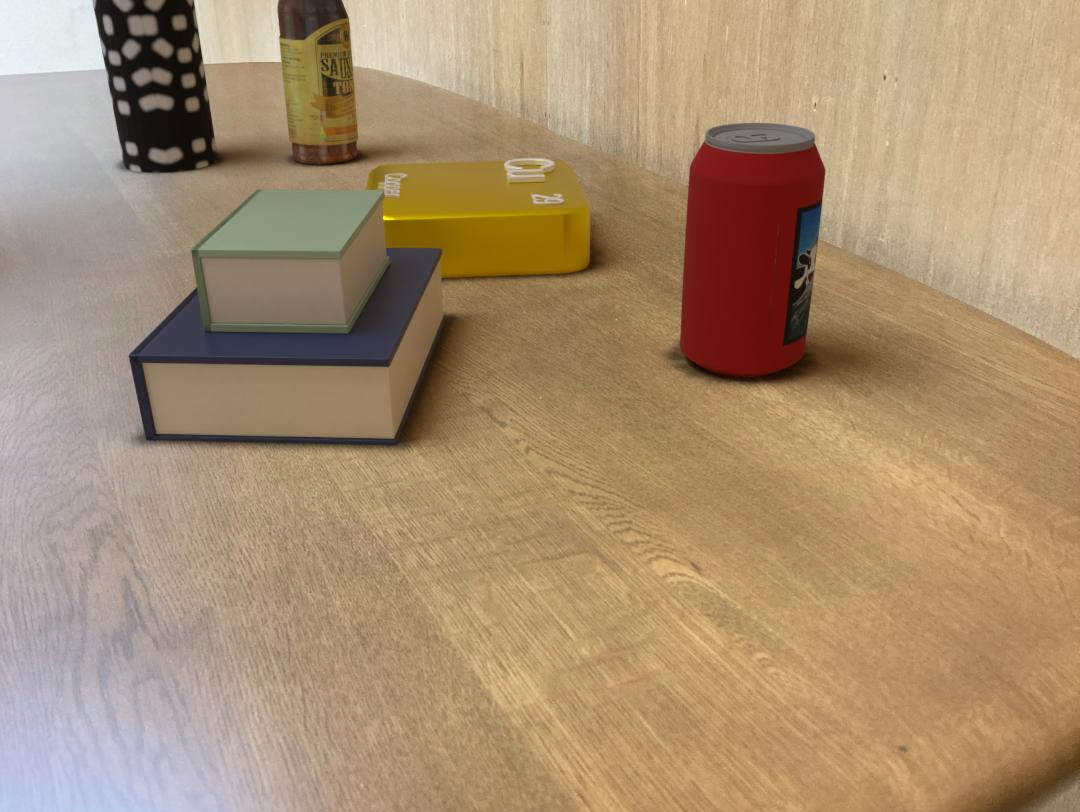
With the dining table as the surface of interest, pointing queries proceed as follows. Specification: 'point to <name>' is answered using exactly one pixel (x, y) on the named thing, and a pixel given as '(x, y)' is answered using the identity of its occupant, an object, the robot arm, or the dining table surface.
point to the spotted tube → (157, 84)
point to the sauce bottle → (318, 80)
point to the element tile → (488, 215)
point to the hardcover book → (292, 262)
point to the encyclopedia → (295, 369)
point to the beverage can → (750, 248)
